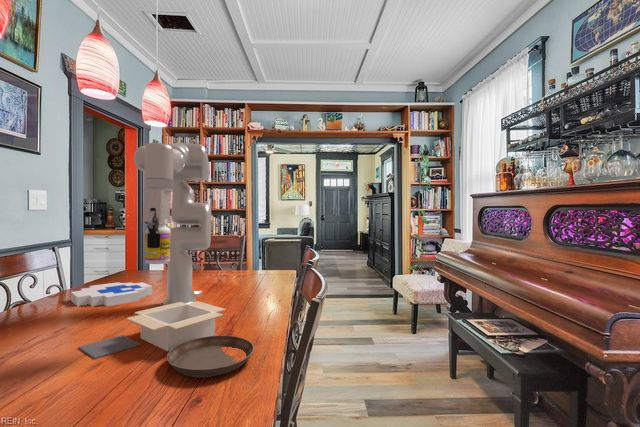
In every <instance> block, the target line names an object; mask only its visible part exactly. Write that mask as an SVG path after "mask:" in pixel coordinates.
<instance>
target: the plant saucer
mask: <svg viewBox="0 0 640 427" xmlns="http://www.w3.org/2000/svg"><path fill="white" fill-rule="evenodd" d="M222 347H232V348H238V349H241V350H243V351H244V352H245V353H246V358H244V359H243V360H241V361H238V362H235V361H236V360H235V359H234V358H235V357H234V356H233V357H234V358H233V357H232V356H228V355H229V354H228V355H227V354H225V352H223V351H222V349H221V348H222ZM220 349H221V350H220ZM254 351H255V346H254V344H253V343H252V342H251V341H250V340H248V339H246V338H243V337H239V336H234V335H213V336H208V337H202V338H197V339H193V340H189V341H186V342H184V343H182V344H179V345H177V346H176V347H174V348H173V349H171V350H170V351H168V353H167V354H166V360H167V362H168V363H169V365H170V366H171V367H172V368H173V369H174V370H175V371H176V372H178V373H180V375H181V374H182V375H184V376H186V377H190V376H191V378H212V376H214V377H218V376H217V375H219V376H222V375H221V374H223V375H226V374H228V372H229V373H232V372H233V370H234V371H236V370H237V369H239V368H241V366H243V365H244V364H245V363H246V362H247V361H248V360H249V358H250V357H252V354H253V352H254ZM231 357H232V358H231ZM233 359H234V360H235V361H234V360H233ZM232 360H233V361H234V362H233V361H232ZM235 369H236V370H235ZM231 371H232V372H231ZM225 373H226V374H225Z"/></svg>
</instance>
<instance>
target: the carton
mask: <svg viewBox="0 0 640 427" xmlns="http://www.w3.org/2000/svg"><path fill="white" fill-rule="evenodd" d="M225 311H227V310H226V308H224V307H220V306H216V305H212V304H209V303H206V302H202V301H198V300H196V302H193V303H189V304H186V303H183V302H178V303H173V304H169V305H164V306H163V305H160V306H156V307H151V308H148V309H143V310H139V311H135V312H134V314H135V315H134V316H129V317H126V320H127V321H129V322H132V323H134V324H136V325H138V326H140V339H141V340H143V341H144V342H145V341H146V342H147V343H149V344H152V345H154V346H156V347H158V348H160V349H162V350H164V351H166V352H169V351H170V350H171V349H173V348H174V347H176V346H177V345H179V344H182V343H184V342H186V341H189V340H193V339H197V338H202V337H208V336H216V319H218V318H221V317H224V314H223V313H221V312H225Z"/></svg>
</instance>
